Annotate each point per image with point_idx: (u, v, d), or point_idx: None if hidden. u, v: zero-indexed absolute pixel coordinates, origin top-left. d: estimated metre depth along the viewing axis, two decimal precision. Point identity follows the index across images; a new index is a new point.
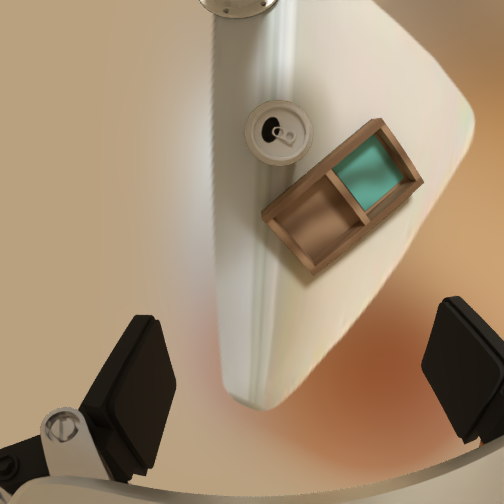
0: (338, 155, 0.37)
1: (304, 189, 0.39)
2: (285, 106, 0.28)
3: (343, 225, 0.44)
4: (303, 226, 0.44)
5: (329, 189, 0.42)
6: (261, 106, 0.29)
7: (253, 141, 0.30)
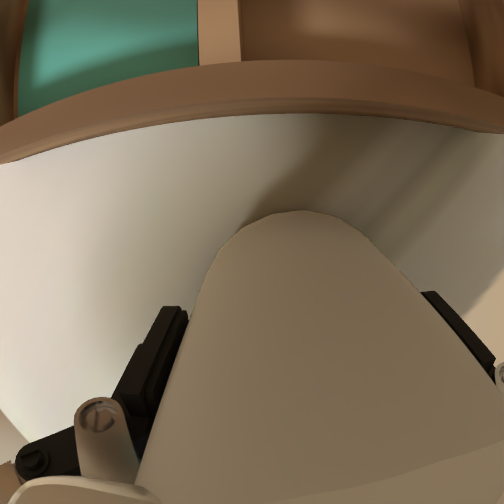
0: (124, 108, 0.06)
1: (383, 74, 0.06)
2: None
3: None
4: None
5: (261, 14, 0.08)
6: None
7: None
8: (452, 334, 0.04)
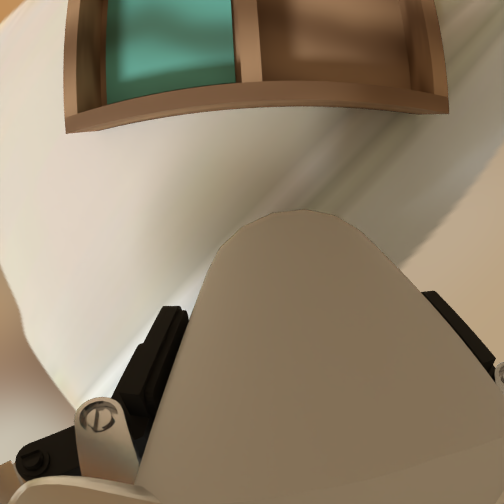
0: (202, 101, 0.13)
1: (334, 85, 0.13)
2: None
3: None
4: (373, 28, 0.13)
5: (271, 47, 0.14)
6: None
7: None
8: (452, 332, 0.04)
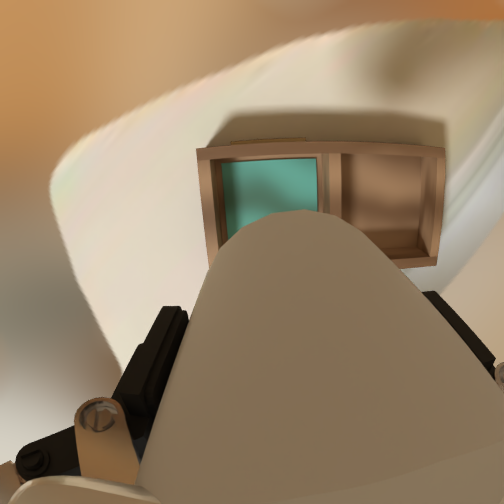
0: None
1: None
2: None
3: (357, 162, 0.25)
4: (401, 203, 0.27)
5: None
6: None
7: None
8: (453, 333, 0.04)
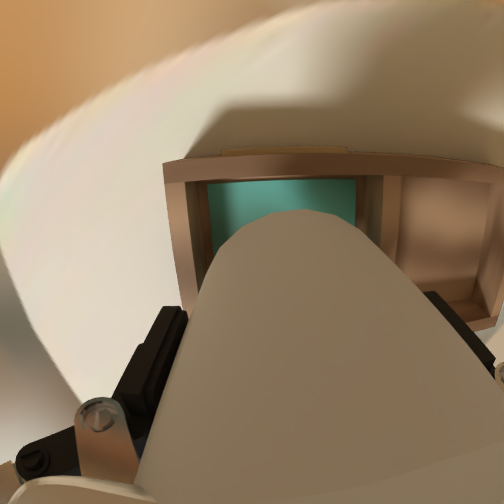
0: None
1: None
2: None
3: (413, 186, 0.16)
4: (461, 244, 0.17)
5: None
6: None
7: None
8: (454, 332, 0.04)
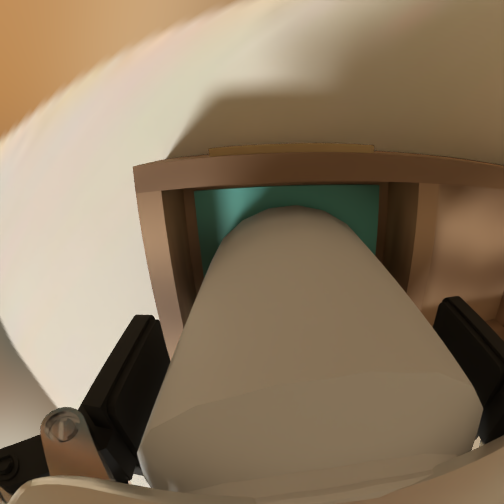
0: None
1: None
2: None
3: (444, 194, 0.13)
4: (491, 260, 0.14)
5: None
6: None
7: None
8: (409, 303, 0.06)
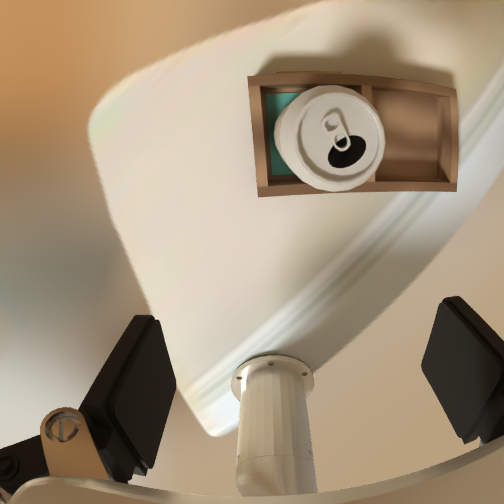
0: (346, 190, 0.27)
1: (406, 183, 0.27)
2: (305, 166, 0.18)
3: (382, 99, 0.26)
4: (421, 137, 0.27)
5: None
6: (329, 188, 0.20)
7: (380, 156, 0.17)
8: None
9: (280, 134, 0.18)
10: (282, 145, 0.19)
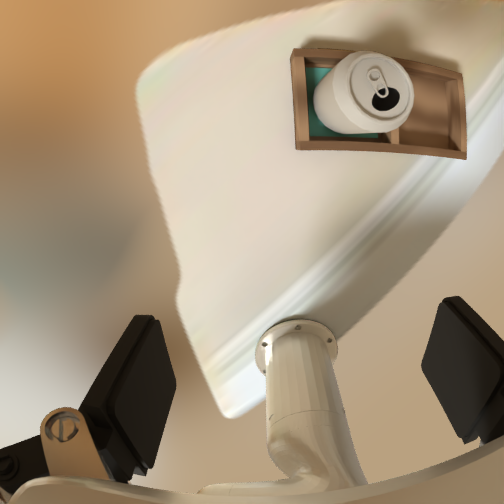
0: (375, 149, 0.29)
1: (424, 148, 0.29)
2: (356, 105, 0.20)
3: None
4: (434, 113, 0.30)
5: None
6: (372, 128, 0.21)
7: (411, 104, 0.19)
8: None
9: (333, 82, 0.20)
10: (335, 91, 0.21)
